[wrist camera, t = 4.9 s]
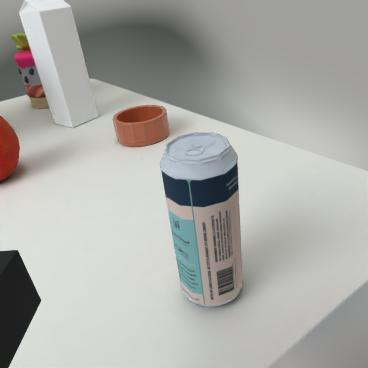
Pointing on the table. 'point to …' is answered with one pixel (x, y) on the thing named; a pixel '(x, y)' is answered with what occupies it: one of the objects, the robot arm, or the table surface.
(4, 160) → the apple
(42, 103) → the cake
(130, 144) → the holder
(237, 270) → the beer can
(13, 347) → the robot arm
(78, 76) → the milk
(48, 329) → the table surface
